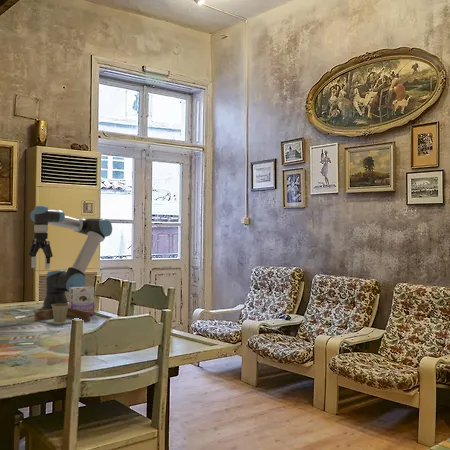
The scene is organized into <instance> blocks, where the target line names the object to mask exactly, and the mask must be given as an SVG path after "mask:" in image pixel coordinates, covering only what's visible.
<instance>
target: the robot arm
mask: <svg viewBox="0 0 450 450" xmlns="http://www.w3.org/2000/svg"><path fill="white" fill-rule="evenodd" d="M30 220H31V221H32V222H34V225H33V226H34V227H33V230H34V233H33V235H34V236H33V238H34V239H32V241H31V246H30V250H29V253H28V255H29V256H30V257H31V260H30V261H31V269H35V268H37V254H38V252H39V250H40V249H41V250H42V251H43V252H42V253H44V270H50V269H51V268H50V267H51V265H50V263H51V258H53V257H54V255H53V251H52V248H51V242H50V240H47V239H49V238H48V236H49V234H48V229H49V227H48V225H52V226H55V227H59V228H64V229H69V230H73V231H74V232H75V233H78V234H82V235H86V236H87V237H86V239H85V241H84V243H83V245H82V247H81V249H80V250H79V253H78V255H77V257H76V258H75V260H74V262H73V263H72V266H69V267H68V268H67V270H65V269H62V270H58V269H57V270H51V271H47V272H46V278H45V279H46V280H45V281H46V282H45V284H46V285H45V287H46V288H45V289H46V290H45V297H44V300H43V304H42V307H43V308H46V309H53V308H52V306H51V305H52V304H69V301H68V299H67V296H66V292H68V293H69V287H86V283H87V282H86V280H87V279H86V273H85V272H86V270H87V268H88V266H89V265H90V262H91V260H92V258H93V256H94V255H95V253H96V251H97V249H98V247H99V246H100V243H102V242H104V240H105V238H106V237H109V236H111V235H112V232H113V224H112V223H111V221H110V220H109V219H107V218H103V217H101V218H81V217H76V218H75V217H71V216H67V215H66V214H65V212H64V211H63V210H60V209H49V206H47V205H46V206H45V205H36V206H35V207H34V210H31V212H30Z"/></svg>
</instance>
